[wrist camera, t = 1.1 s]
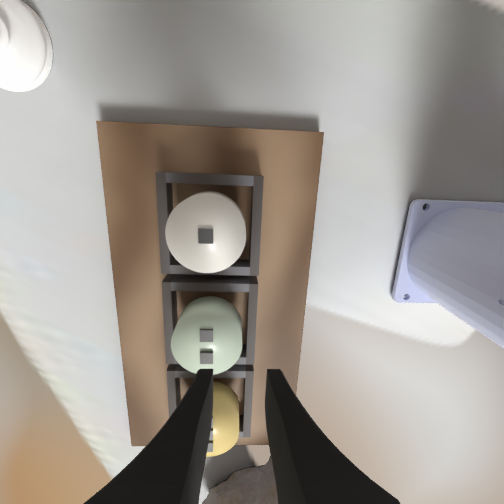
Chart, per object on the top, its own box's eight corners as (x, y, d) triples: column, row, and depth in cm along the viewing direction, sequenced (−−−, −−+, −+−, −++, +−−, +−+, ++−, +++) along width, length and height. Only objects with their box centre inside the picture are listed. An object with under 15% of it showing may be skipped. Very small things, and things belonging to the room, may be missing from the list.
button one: (246, 192, 17) (247, 196, 15) (244, 260, 18) (244, 275, 16) (173, 189, 17) (162, 193, 14) (176, 259, 18) (166, 273, 16)
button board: (319, 133, 19) (331, 128, 16) (288, 434, 26) (294, 462, 24) (103, 123, 18) (82, 116, 15) (135, 435, 25) (124, 464, 23)
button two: (242, 296, 19) (243, 316, 17) (241, 351, 20) (241, 377, 18) (177, 295, 19) (168, 315, 16) (179, 351, 20) (171, 377, 18)
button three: (239, 381, 21) (240, 409, 19) (238, 426, 22) (238, 458, 20) (181, 381, 21) (173, 409, 18) (182, 427, 22) (175, 459, 20)
